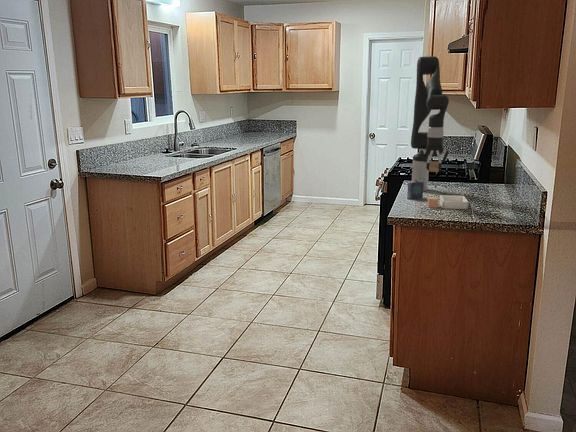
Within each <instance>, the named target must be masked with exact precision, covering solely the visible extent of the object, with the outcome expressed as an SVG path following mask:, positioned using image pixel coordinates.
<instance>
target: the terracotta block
mask: <svg viewBox="0 0 576 432" xmlns="http://www.w3.org/2000/svg"><path fill="white" fill-rule="evenodd" d="M438 205H439V198H438V197H437V196H436V197H435V196H434V197H433V196H428V197H427V209H428V208H429V209H439V208H438Z"/></svg>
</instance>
